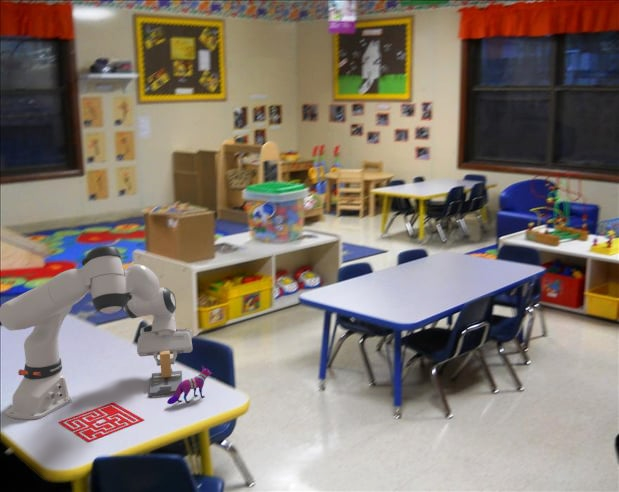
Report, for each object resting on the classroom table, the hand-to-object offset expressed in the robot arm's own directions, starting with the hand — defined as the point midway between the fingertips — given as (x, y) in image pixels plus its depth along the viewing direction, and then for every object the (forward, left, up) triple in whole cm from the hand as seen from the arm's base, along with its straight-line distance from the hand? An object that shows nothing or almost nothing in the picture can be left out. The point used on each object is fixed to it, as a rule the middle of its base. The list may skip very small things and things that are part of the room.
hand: (165, 364), depth 267 cm
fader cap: (+1, 0, -5) cm, 5 cm away
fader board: (-4, -2, -6) cm, 8 cm away
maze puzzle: (-35, +6, -7) cm, 36 cm away
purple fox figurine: (-13, -16, -7) cm, 22 cm away
